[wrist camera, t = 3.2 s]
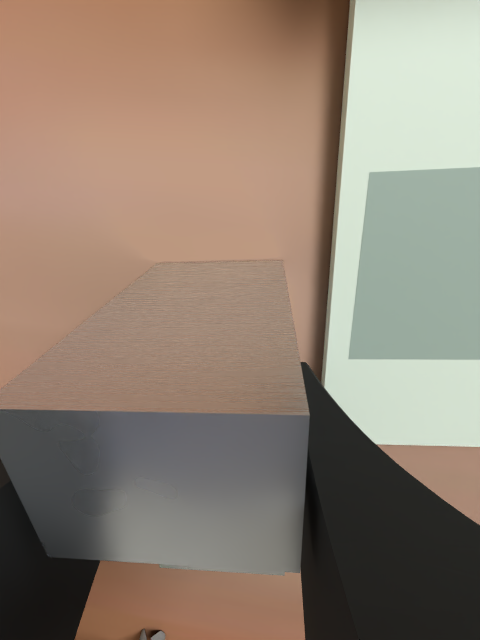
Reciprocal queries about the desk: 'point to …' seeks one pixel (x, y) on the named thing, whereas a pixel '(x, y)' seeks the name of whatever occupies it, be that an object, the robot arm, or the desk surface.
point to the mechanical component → (160, 636)
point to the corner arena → (408, 225)
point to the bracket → (169, 426)
